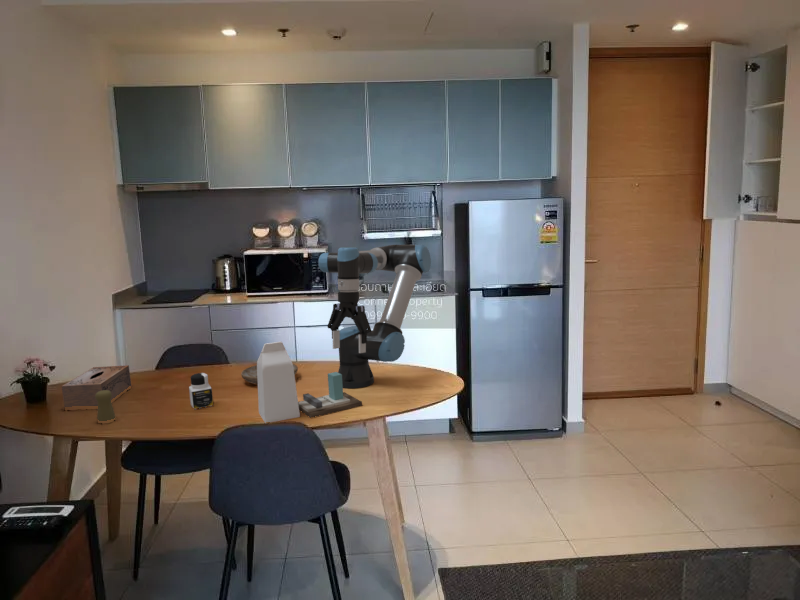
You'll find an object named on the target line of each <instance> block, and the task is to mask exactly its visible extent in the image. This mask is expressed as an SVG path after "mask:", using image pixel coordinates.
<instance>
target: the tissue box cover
mask: <svg viewBox="0 0 800 600" xmlns="http://www.w3.org/2000/svg"><path fill="white" fill-rule="evenodd" d="M131 381H132V379H131V372H130V366H129V365H128V364H127V365H126V364H125V365H111V366H94V367H92V368H89V369H88V370H86V371H84V372H83V373H81V374H80V375H77V376H76V377H75V378H72V379H71V380H70V381H68V382H66V383H64V384H63V385H61V390H62V393H61V394H62V398H63V399H62V400H63V405H64V408H65V407H72V406H98V401H97V400H96V398H95V395H96V393H97V392H99V391H102V390H109V391H110V392H111V394H112V397H111V400H112V399H113V398H115V397H116V396H117V395H119V394H120V393H121V392H123V391H124V390H125V389H127V388H128V387H129V386H131V387H132V382H131Z"/></svg>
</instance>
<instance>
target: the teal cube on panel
mask: <svg viewBox="0 0 800 600" xmlns="http://www.w3.org/2000/svg"><path fill="white" fill-rule="evenodd" d="M327 382H328V383H327V385H328V394H327V395H322V397H324V398H326V399H327V400H329V401H331V402H332V403H334V406H337V405H341V404H345V403H349V402H350V399H348V398H346V397H344V396H343V392H344V388H343V385H342V374H340V373H338V371H334V372H333V371H332V372H330V373H327Z"/></svg>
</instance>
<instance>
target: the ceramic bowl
mask: <svg viewBox="0 0 800 600" xmlns="http://www.w3.org/2000/svg"><path fill="white" fill-rule="evenodd" d="M292 364H293V368H294V375H296V374H297V372H298V370H299V367H298V365H297V364H294V363H292ZM240 374H241V377H242V379H244V380H245V382H248V383H250V384H254V385H258V380H257V364H256V365H252V366H249V367H247V368H244V369H242V371H241V373H240Z"/></svg>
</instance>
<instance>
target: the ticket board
mask: <svg viewBox="0 0 800 600" xmlns="http://www.w3.org/2000/svg"><path fill="white" fill-rule="evenodd" d="M343 396H344V397H346V398H348V399H350V402H349V403H345V404H341V405H337V406H334V403H332V402H331V401H329V400H327V399H326V398H324V397H323V396H318V397H315V396H314V395H312V394H310V393H303V394H302V397H303V398H302V399H303V400H300V401H298V406H299V412H301V411H302V412H301V413H302V414H304V413H305V414H304V415H306V416H307V417H308V416H309V417H308V418H310V419H312V418H311V417H314V418H316V417H315V416H318V417H320V416H319V415H322V416H325V415H324V414H326V415H328V413H330V414H333V413H332V412H334V413H337V411H338V412H342V411H345V410H349V409H353V408H357V407H362V406H363V402H362V401H361V400H360V399H358V398H356V397H354V396H352V395H350V394H349V393H347V392H345V391H343Z"/></svg>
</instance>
